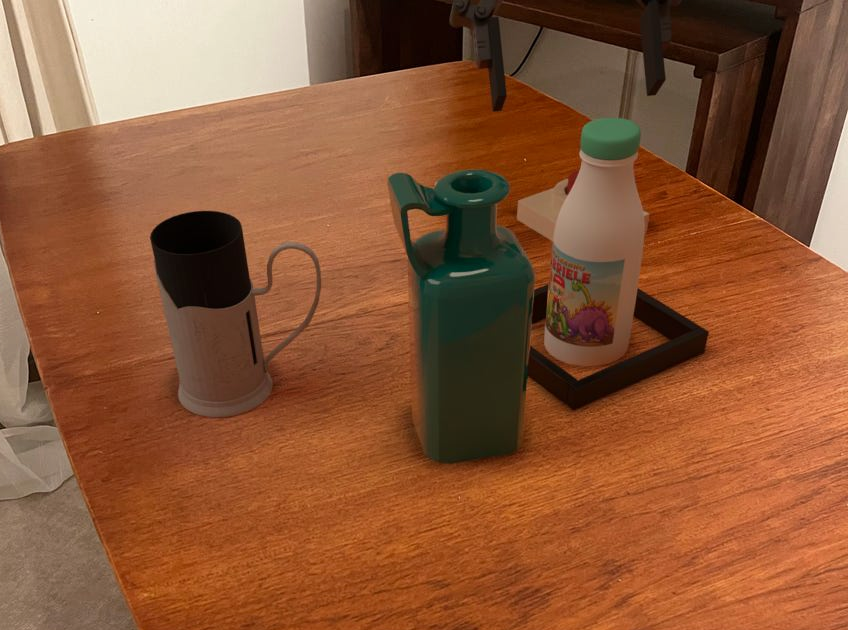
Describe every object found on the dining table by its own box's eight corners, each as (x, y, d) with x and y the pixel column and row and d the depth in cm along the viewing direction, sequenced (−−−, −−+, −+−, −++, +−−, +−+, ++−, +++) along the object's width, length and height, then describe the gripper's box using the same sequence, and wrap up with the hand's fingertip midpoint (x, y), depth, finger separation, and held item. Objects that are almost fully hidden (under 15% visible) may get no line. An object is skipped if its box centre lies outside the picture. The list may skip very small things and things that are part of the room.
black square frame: (703, 360, 92) (709, 331, 90) (572, 418, 88) (576, 389, 85) (595, 292, 101) (598, 263, 99) (472, 341, 96) (472, 313, 94)
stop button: (608, 195, 107) (610, 178, 106) (581, 204, 106) (583, 188, 105) (586, 183, 109) (588, 166, 108) (559, 192, 108) (561, 175, 107)
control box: (646, 233, 108) (652, 196, 105) (580, 259, 106) (584, 221, 103) (580, 196, 115) (584, 160, 112) (516, 219, 112) (518, 183, 109)
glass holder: (186, 363, 97) (152, 208, 85) (334, 359, 96) (320, 202, 85) (170, 418, 91) (132, 260, 80) (328, 414, 90) (312, 254, 79)
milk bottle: (579, 319, 98) (604, 99, 83) (644, 349, 94) (682, 124, 79) (525, 352, 95) (541, 129, 80) (591, 385, 91) (620, 156, 76)
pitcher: (502, 400, 90) (515, 145, 73) (528, 459, 84) (549, 197, 68) (393, 417, 89) (382, 163, 73) (412, 477, 83) (405, 216, 67)
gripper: (409, -181, 81) (438, 89, 83) (714, -209, 82) (738, 58, 83) (402, -117, 89) (429, 130, 90) (681, -143, 90) (704, 102, 91)
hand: (578, 96), depth 87 cm, fingers open, 13 cm apart
